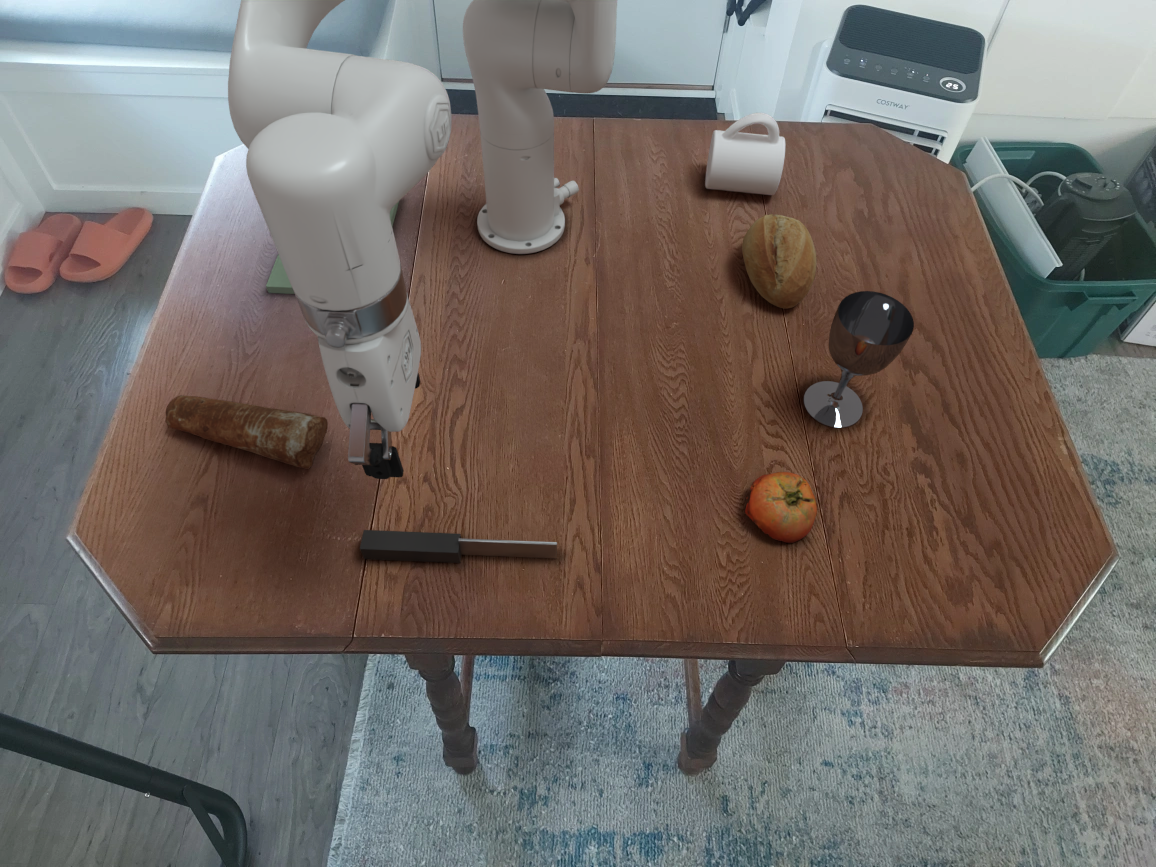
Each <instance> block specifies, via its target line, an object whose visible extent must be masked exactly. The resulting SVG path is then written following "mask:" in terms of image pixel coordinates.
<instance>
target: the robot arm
mask: <svg viewBox="0 0 1156 867" xmlns="http://www.w3.org/2000/svg"><path fill="white" fill-rule="evenodd" d="M345 1H346V0H240V4H239V8H238V14H237V18H236V24H235V30H234V35H233V40H232V46H231V51H230V52H231V53H230V58H229V67H228V69H229V70H228V79H227V101H228V110H229V115H230V119H231V122H232V125H233V129H234V131H235V133H236V134H237V137H238V138H239V140H240V142H242V144H243V145H244V146H245V147H246V148H247V153H246V160H245V168H246V174H247V177H248V181H249V183H250V186H251V189H252V191H253V194H254V197H255V199H256V202H257V204H258V206H259V209H260V212H261V214H262V216H263V219H264V222H265V224H266V227H267V229H268V232H269V234H270V237H271V240H272V242H273V245H274V246H275V249H276V251H277V255H278V254H279V257H280V259H281V261H282V264H283V266H284V269H285V271H286V274H287V276H288V279H289V281H290V284H291V286H292V288H293V291H294V294H293V295H294V296H295V299H296V301H297V304H298V306H299V308H300V311H301V313H302V317H303V318H304V321H305V323H306V325H307V327H308V328H309V329H310V331H311V332H312V333H313V334H315V336H317V342H318V347H319V352H320V356H321V360H322V365H323V368H324V373H325V375H326V379H327V382H328V386H329V389H330V392H331V395H332V398H333V401H334V404H335V406H336V410H337V412H338V413H339V416H340V418H341V420H342V422H343V424H344V425H345V426H346V427H347V429H349V438H348V449H347V450H348V453H347V460H348V463H349V464H354V465H355V466H362V469H363V472H364V474H365V475H366V476H368V477H372V478H374V479H376V480H388V479H390V478H402V477H403V476H404V467H403V465H402V464H403V463H402V461H401V458H400V454H399V452H398V449H397V447H396V446H394V445H392V433H394V432H397V433H398V432H399V433H400V432H402V431H403V430H404V429H405V427H406V426H407V424H408V422H409V418H410V415H411V410H412V405H413V401H414V395H415V390H416V389H418V388H420V386H421V379H420V374H419V367H420V362H421V356H422V341H421V337H420V334H419V329H418V326H417V322H416V319H415V316H414V312H413V308H412V306H411V303H410V299H409V294H408V290H407V285H406V282H405V277H404V273H403V268H402V263H401V261H400V255H399V250H398V247H397V246H398V245H397V242H396V238H395V233H394V229H393V226H392V224H391V220H390V211H391V209H392V208H393V207H394V206H395V204H396V203H397V202H398V201H399V202H400V201H401V199H403V198H404V197H405V196H406V195H407V194H408V193H409V192H410V191H411V190H412V189H413V188H415V186H416V185H417V184H419V183H420V181H422V180H423V179H424V178H425V177H426V176H427V175H428V174H429V172H430V171H431V170H432V168H434V167H435V165H436V163H437V162H438V160H439V159H440V158H441V157H442V156H443V154H445V152H446V150H447V148H448V145H449V142H450V138H451V132H452V126H453V125H452V124H453V123H452V122H453V121H452V118H453V117H452V110H451V109H452V108H451V102H450V98H449V95H448V91H447V90H446V88H445V84H443V82H442V81H441V80H440V78H439V77H438V76H437V75H436V74H434V73H433V72H432V71H430V70H429V69H427V68H425V67H423V66H421V65H418V64H415V63H412V62H408V61H401V60H397V59H396V60H395V59H387V58H380V57H379V58H378V57H371V56H361V55H357V54H353V53H345V52H337V51H328V50H320V49H312V48H308V45H309V43H310V41H311V39H312V36H313V34H314V32H315V31H316V29H317V28H318V26H319V25H320V24H321V22H322V21H323V20H324V18H326V16H328V14H329V13H330V12H331V11H333V10H334V9H335V8H336V7H338V6H339V5H340V4H342V3H344V2H345ZM617 19H618V0H472V1H471V2H470V4H469V5H468V6H467V8H466V10H465V12H464V16H463V21H462V41H463V48H464V53H465V57H466V61H467V64H468V67H469V71H470V74H471V78H472V82H473V87H474V92H475V99H476V105H477V115H478V127H479V137H480V148H481V158H482V159H481V160H482V170H483V182H484V191H485V192H484V193H485V204H484V205H483V206H482V207H481V209H480V210H479V212H478V214H477V217H476V218H477V219H476V220H477V221H476V223H477V224H476V225H477V230H478V233H479V236H480V238H481V239H482V240H483V241H484V243H486V244H488V246H490V247H492V248H494V249H496V250H498V251H500V252H503V253H507V254H514V255H515V254H516V255H526V254H534V253H537V252H541V251H544V250H546V249H549V248H550V247H552V246H554V245H555V244H556V243H557V242H558V241H559V240H560V239H561V237H562V236H563V234H564V232H565V228H566V217H565V213H564V212H563V209H562V208H561V207H560V206H561V205H563V204H564V203H565V200H566V199H569V198H571V197H573V196H575V195H577V194H578V193H579V192H580V187H579V185H578V183H577V182H576V181H575V180H570V181H568V182H566V183H565V184H563V185H561V182H560V179H559V178H558V177H555V114H554V110H553V106H552V103H551V101H550V98H549V96H548V94H547V92H546V91H545V90H549V91H556V92H564V93H574V94H594V93H597V92H599V91H601V90H602V89H603V88H605V87H606V85H607V83H608V82H609V81H610V78H611V75H612V72H613V68H614V63H615V55H616V45H617V44H616V43H617V21H618V20H617ZM560 186H561V187H560ZM558 187H559V188H558ZM371 431H380V437H381V438H380V439H381V440H380V442H370V440H371Z"/></svg>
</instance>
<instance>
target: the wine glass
mask: <svg viewBox="0 0 1156 867" xmlns="http://www.w3.org/2000/svg"><path fill="white" fill-rule="evenodd" d="M914 328H915V321H914V317H913V315H912V313H911V311H910V310H909V309H908V308H907V307H906V306H905V305H904V304H903V303H902V302H901V301H899V300H898V299H896V298H894V297H893V296H890V295H888V294H886V293H884V292H878V291H872V290H871V291H870V290H860V291H855V292H852V293H850V294H848V295H846V296H845V297H844V298H842V299H841V301H840V303H839V304H838V306H837V308H836V311H835V313H834V316H833V319H832V322H831V323H830V329H829V335H828V351H829V354H830V357H831V358H832V361H833V362H834V364H835V365H836V366H837V367H838V368H839V369H840V372H841V374H840V380H839V381H838V382H837V381H830V380H825V381H818V382H815V383H812V385H810V386H808V388H807V389H806V390H805V391H804V394H803V405H804V408H805V410H806V412H807V413H808V415H809V416H810V417H811V418H813V419H814V420H815V421H816V422H818V423H820V424H822V425H824V426H825V427H829V428H830V427H831V428H836V429H842V428H843V429H844V428H848V427H851V426H854V425H855V424H856V423H857V422H859V420H860V419H861V417H862V416H863V412H864V408H863V403H862V401H861V398H860V397H859V395H858V394H857V392H855V391H854V390H853V389H851V388H850V387H849V386H848V384H849V383H850V382H851V381H852V379H854V378H855V377H863V376H871V375H875V374H878V373H880V372H881V371H883V370H884V369H886V368H887V367H888V366H890V364H892V363H893V362H894V361H895V359H897V358H898V357H899V355H900V354H901V353H902V351H903V349H904V348H905V346H906V345H907V343H908V342H909V340H910V338H911V336H912V334H913V331H914Z"/></svg>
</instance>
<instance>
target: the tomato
mask: <svg viewBox="0 0 1156 867" xmlns="http://www.w3.org/2000/svg"><path fill="white" fill-rule="evenodd" d="M749 491H750V494H749V497H748V496H746V497H745V499H746V500H748V498H749V501H748V502H747V503H746V506H745V509H744V513H745V514H746V516H747V517H748V518H749V519H750V520H751V521H752V522H753V523H754V525H756V526H757V527H758V529H760V530H761V532H762V533H763V534H765V535H768V537H770V538H772V539H773V540H777V541H779V542H783V543H787V544H794V543H797V542H798V541H800V540H802V539H803V538H805V537H807V535H808V534H809V533H810V532H811V530H812V529H813V526H814V523H815V520H816V518H817V514H818V506H817V505H818V504H817V501H816V497H815V495H814V493H813V490H812V487H811V485H810V484H809V482H808V481H807V480H806V479H805V478H804V477H803V476H801V475H799V474H797V473H793V472H790V471H789V472H788V471H778V472H777V471H776V472H773V473H768V474H762V475H761V476H759V477H757V478H756V479H754V481H752V483H751V484H750V487H749Z"/></svg>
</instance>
